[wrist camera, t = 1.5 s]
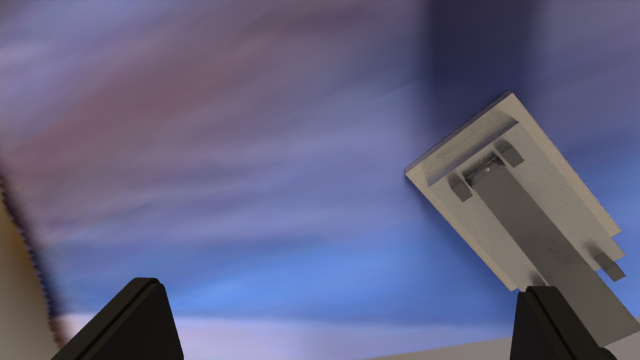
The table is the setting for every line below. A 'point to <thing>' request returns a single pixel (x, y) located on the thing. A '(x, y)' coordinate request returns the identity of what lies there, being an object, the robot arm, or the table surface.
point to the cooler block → (534, 176)
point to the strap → (552, 254)
